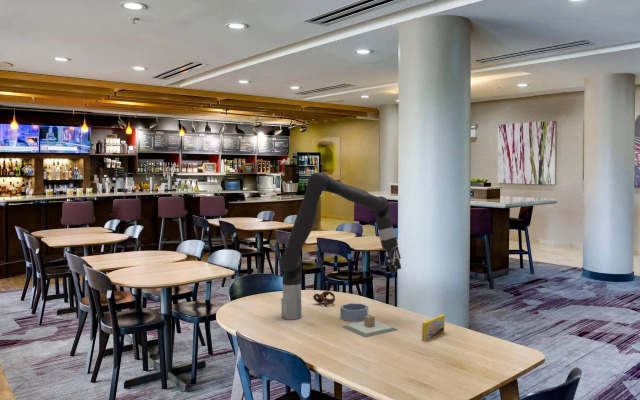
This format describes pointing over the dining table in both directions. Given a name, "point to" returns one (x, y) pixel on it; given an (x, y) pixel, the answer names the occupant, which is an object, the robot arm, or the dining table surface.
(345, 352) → the dining table surface
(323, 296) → the brown looped knot
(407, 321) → the dining table surface
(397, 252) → the robot arm
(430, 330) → the candy box
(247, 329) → the dining table surface
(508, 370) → the dining table surface
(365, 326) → the lid
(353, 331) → the mat
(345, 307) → the bowl
